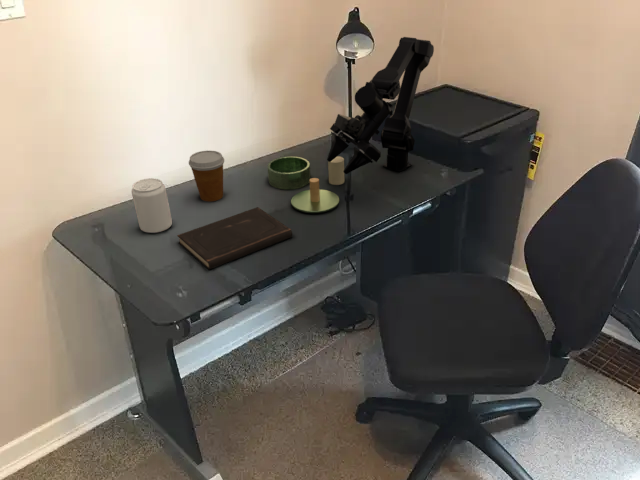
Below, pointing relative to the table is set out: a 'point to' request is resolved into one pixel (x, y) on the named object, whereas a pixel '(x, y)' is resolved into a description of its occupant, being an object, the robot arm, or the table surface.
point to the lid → (315, 199)
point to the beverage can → (151, 205)
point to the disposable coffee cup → (208, 174)
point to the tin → (289, 172)
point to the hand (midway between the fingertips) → (336, 166)
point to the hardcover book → (234, 237)
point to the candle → (336, 171)
